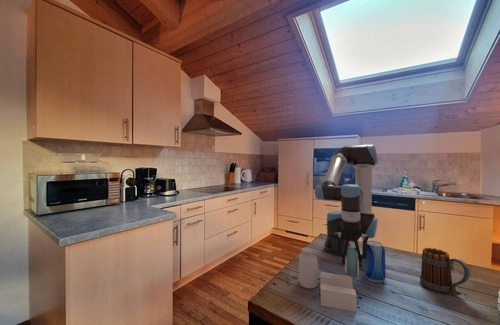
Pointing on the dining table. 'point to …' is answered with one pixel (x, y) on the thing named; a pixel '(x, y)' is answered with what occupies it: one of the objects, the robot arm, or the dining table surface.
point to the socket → (338, 291)
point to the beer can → (375, 262)
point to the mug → (440, 271)
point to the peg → (351, 261)
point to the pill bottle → (308, 268)
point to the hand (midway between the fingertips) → (351, 272)
